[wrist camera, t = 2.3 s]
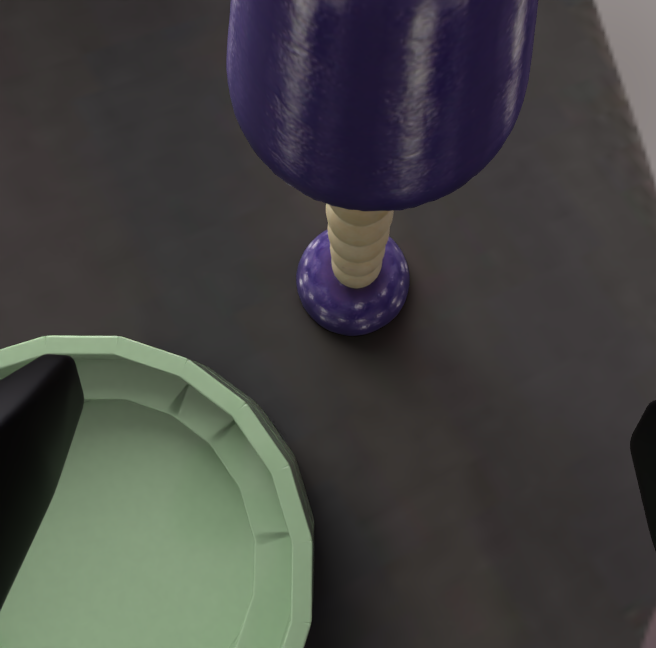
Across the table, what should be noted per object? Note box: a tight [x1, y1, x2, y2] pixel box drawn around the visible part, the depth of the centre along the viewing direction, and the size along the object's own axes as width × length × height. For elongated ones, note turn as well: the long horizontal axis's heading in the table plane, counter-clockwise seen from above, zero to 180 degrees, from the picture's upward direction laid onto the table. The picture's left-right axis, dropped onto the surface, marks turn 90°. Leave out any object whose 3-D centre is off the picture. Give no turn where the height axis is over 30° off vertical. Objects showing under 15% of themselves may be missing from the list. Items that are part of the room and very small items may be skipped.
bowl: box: [0, 335, 315, 648], centre depth 18 cm, size 14×14×4 cm
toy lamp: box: [227, 0, 538, 336], centre depth 14 cm, size 5×5×17 cm
